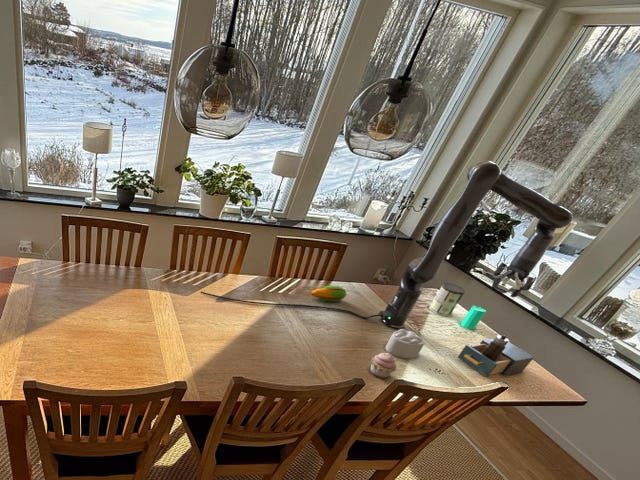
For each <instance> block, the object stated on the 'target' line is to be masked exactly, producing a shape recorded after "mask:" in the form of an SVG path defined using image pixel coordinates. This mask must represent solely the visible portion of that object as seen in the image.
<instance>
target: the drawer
mask: <svg viewBox="0 0 640 480" xmlns="http://www.w3.org/2000/svg"><path fill="white" fill-rule="evenodd" d="M487 346H488V345H486V344H485V343H484V344H480V343H479V344H472V345H469V344H466V345H465V346H464V347H463V348H462V350H461V352H460V353H459V354H458V355H457V358H458V359H460V360H461V361H462V362H464V363H465V364H466V365H468V366H469V367H471V368H473V369H474V370H475V371H476V372H478V373H480V374H481V375H482V376H484V377H485V378H487V377H489V376H490V375H495V374H499V373H501V372H503V371H504V370H505V369H506V368H507V366H508V365H509V364H510V363H511V361H512V360H510V359H509V358H507V357H505V356H504V355H502V354H500V355H499V357H498V358H497V359H496V361H495V362H493V361H492V360H490V359H489V358H487V357H486V356H484V355H483V354H482V353H483V352H484V350H485V349H486V348H487Z"/></svg>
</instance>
